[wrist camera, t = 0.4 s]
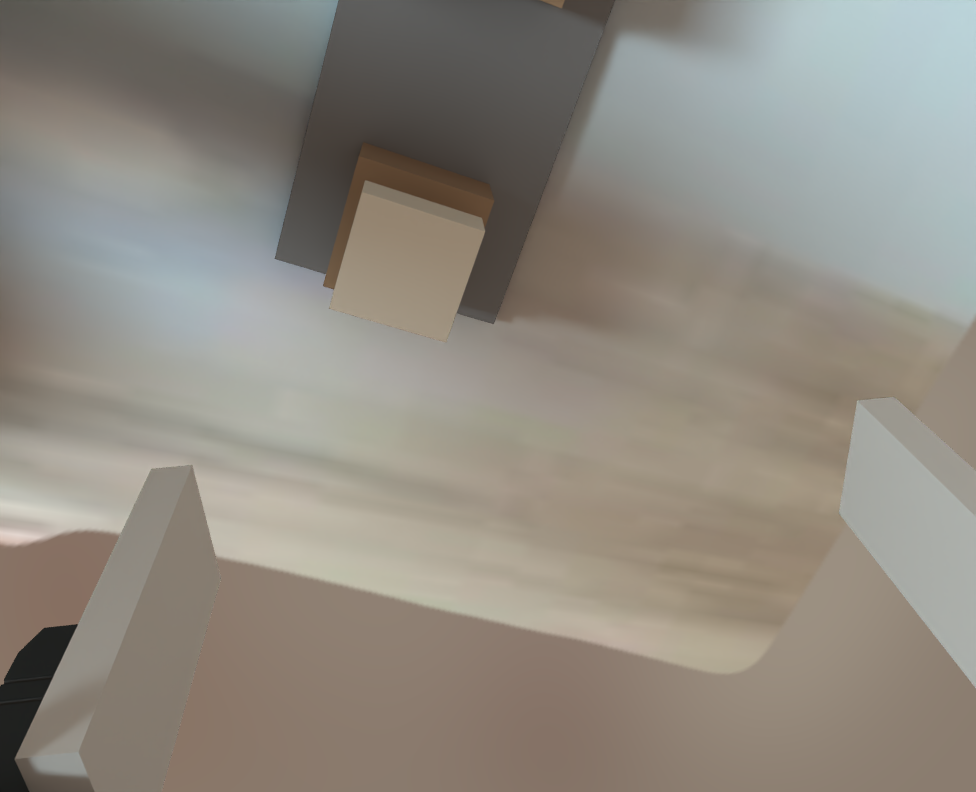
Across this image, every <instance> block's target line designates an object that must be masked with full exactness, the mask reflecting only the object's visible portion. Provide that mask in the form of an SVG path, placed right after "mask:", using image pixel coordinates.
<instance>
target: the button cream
mask: <svg viewBox="0 0 976 792" xmlns="http://www.w3.org/2000/svg"><path fill="white" fill-rule="evenodd" d="M484 234H485V229H484V224H483V220H482V218H481V217H477V216H474V215H471V214H468V213H465V212H462V211H459V210H456V209H453V208H450V207H447V206H444V205H441V204H437V203H434V202H431V201H428V200H425V199H422V198H419V197H416V196H413V195H410V194H407V193H404V192H401V191H397V190H394V189H391V188H388V187H385V186H382V185H379V184H376V183H373V182H370V181H367V180H365V182H364V186H363V189H362V193H361V196H360V200H359V203H358V207H357V211H356V214H355V218H354V221H353V225H352V228H351V232H350V235H349V239H348V242H347V246H346V249H345V253H344V256H343V260H342V264H341V267H340V271H339V274H338V278H337V281H336V285H335V288H334V292H333V296H332V300H331V303H330V307H329V309H332V310H336V311H339V312H343V313H346V314H349V315H353V316H356V317H360V318H363V319H367V320H370V321H374V322H377V323H380V324H384V325H387V326H391V327H394V328H398V329H401V330H405V331H408V332H411V333H415V334H418V335H422V336H425V337H429V338H432V339H436V340H439V341H442V342H447V339H448V336H449V333H450V330H451V327H452V325H453V322H454V319H455V316H456V313H457V310H458V308H459V305H460V302H461V299H462V296H463V293H464V290H465V288H466V285H467V282H468V279H469V276H470V273H471V271H472V268H473V265H474V262H475V259H476V256H477V254H478V251H479V248H480V245H481V242H482V239H483V237H484Z"/></svg>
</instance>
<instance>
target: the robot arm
mask: <svg viewBox="0 0 976 792" xmlns="http://www.w3.org/2000/svg"><path fill="white" fill-rule="evenodd" d="M839 514H840V516H841V517H842V518H843V519H844V521H845V522H846V523H847V524H848V526H849V527H850V528H851V529H852V531H853V532H854V533H855V534H856V536H857V537H858V538H859V540H860V541H861V542H862V543H863V545H864V546H865V547H866V549H867V550H868V551H869V553H870V554H871V555H872V556H873V558H874V559H875V560H876V561H877V563H878V564H879V565H880V567H881V568H882V569H883V570H884V572H885V573H886V574H887V576H888V577H889V578H890V579H891V580H892V582H893V583H894V584H895V586H896V587H897V588H898V590H899V591H900V592H901V593H902V595H903V596H904V597H905V599H907V601H908V602H909V604H910V605H911V606H912V607H913V609H914V610H915V611H916V612H917V614H918V615H919V616H920V618H921V619H922V620H923V621H924V623H925V624H926V625H927V627H928V628H929V629H930V630H931V632H932V633H933V634H934V635H935V637H936V638H937V639H938V641H939V642H940V643H941V644H942V646H943V647H944V648H945V649H946V651H947V652H948V653H949V654H950V656H951V657H952V659H953V660H954V661H955V662H956V664H957V665H958V666H959V667H960V669H961V670H962V671H963V673H964V674H965V675H966V676H967V677H968V679H969V680H970V681H971V683H972V684H973V685H974V687H975V688H976V470H975V469H974V468H973V467H972V466H971V465H969V464H968V463H967V462H966V461H965V460H964V459H963V458H962V457H961V456H959V455H958V454H957V453H956V452H955V451H954V450H953V449H952V448H951V447H949V446H948V445H947V444H946V443H945V442H944V441H943V440H942V439H940V438H939V437H938V436H937V435H936V434H935V433H934V432H933V431H932V430H931V429H929V428H928V427H927V426H926V425H925V424H924V423H923V422H922V421H920V420H919V419H918V418H917V417H916V416H915V415H914V414H913V413H912V412H911V411H909V410H908V409H907V408H906V407H905V406H904V405H903V404H902V403H901V402H899V401H898V400H897V399H896V398H895V397H887V398H877V399H867V400H857V405H856V411H855V417H854V423H853V430H852V436H851V442H850V448H849V454H848V460H847V466H846V472H845V478H844V484H843V491H842V497H841V503H840V509H839ZM220 580H221V575H220V572H219V568H218V564H217V560H216V556H215V552H214V548H213V544H212V540H211V537H210V533H209V529H208V525H207V521H206V517H205V513H204V509H203V505H202V502H201V498H200V494H199V490H198V486H197V482H196V478H195V474H194V471H193V467H192V465H187V466H177V467H166V468H156V469H151V471H150V473H149V475H148V477H147V479H146V481H145V484H144V486H143V488H142V490H141V492H140V494H139V496H138V498H137V501H136V503H135V505H134V507H133V509H132V511H131V513H130V515H129V518H128V520H127V522H126V524H125V526H124V528H123V530H122V532H121V534H120V537H119V539H118V541H117V543H116V545H115V547H114V549H113V551H112V554H111V556H110V558H109V560H108V562H107V564H106V567H105V568H104V571H103V573H102V575H101V577H100V579H99V581H98V583H97V585H96V587H95V590H94V592H93V594H92V596H91V598H90V600H89V602H88V604H87V607H86V609H85V611H84V613H83V615H82V617H81V619H80V621H79V624H76V625H68V626H57V627H49V628H44V629H42V630H41V631H40V632H39V633H38V634H37V635H36V636H35V637H34V638H33V639H32V640H31V641H30V642H29V643H28V644H27V645H26V646H25V647H24V648H23V649H22V650H21V651H20V652H19V653H18V654H17V656H16V658H15V660H14V662H13V664H12V665H11V667H10V669H9V671H8V673H7V675H6V677H5V679H4V684H3V685H1V686H0V792H162V788H163V785H164V781H165V777H166V774H167V770H168V767H169V763H170V759H171V756H172V752H173V748H174V745H175V742H176V738H177V734H178V731H179V727H180V724H181V720H182V717H183V713H184V709H185V706H186V702H187V698H188V695H189V691H190V688H191V684H192V680H193V677H194V674H195V670H196V666H197V663H198V659H199V656H200V652H201V648H202V645H203V641H204V638H205V634H206V630H207V626H208V623H209V620H210V616H211V613H212V609H213V605H214V602H215V598H216V595H217V591H218V588H219V584H220Z"/></svg>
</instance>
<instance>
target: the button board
mask: <svg viewBox="0 0 976 792" xmlns="http://www.w3.org/2000/svg"><path fill="white" fill-rule="evenodd" d="M614 1H615V0H339V1H338V5H337V9H336V13H335V17H334V21H333V25H332V29H331V34H330V38H329V42H328V46H327V50H326V54H325V58H324V62H323V66H322V70H321V74H320V78H319V82H318V86H317V90H316V94H315V98H314V102H313V106H312V110H311V114H310V118H309V122H308V126H307V130H306V134H305V139H304V143H303V147H302V151H301V155H300V159H299V163H298V167H297V171H296V175H295V179H294V183H293V187H292V191H291V195H290V199H289V203H288V207H287V211H286V215H285V219H284V223H283V227H282V231H281V235H280V239H279V244H278V248H277V252H276V256H275V259H277V260H281V261H284V262H287V263H291V264H294V265H297V266H301V267H304V268H307V269H311V270H314V271H317V272H321V273H324V274H326V277H325V280H324V284H323V286H324V287H328V288H331V289H334V288H335V285H336V281H337V278H338V274H339V271H340V267H341V264H342V260H343V256H344V253H345V249H346V246H347V242H348V239H349V235H350V232H351V228H352V225H353V221H354V218H355V214H356V211H357V207H358V203H359V200H360V196H361V193H362V189H363V186H364V182H365V180H367V181H370V182H373V183H376V184H379V185H382V186H385V187H388V188H391V189H394V190H397V191H401V192H404V193H407V194H410V195H413V196H416V197H419V198H422V199H425V200H428V201H431V202H434V203H437V204H441V205H444V206H447V207H450V208H453V209H456V210H459V211H462V212H465V213H468V214H471V215H474V216H477V217H481V218H482V220H483V224H484V229H485V234H484V237H483V239H482V242H481V245H480V248H479V251H478V254H477V256H476V259H475V262H474V265H473V268H472V271H471V273H470V276H469V279H468V282H467V285H466V288H465V290H464V293H463V296H462V299H461V302H460V305H459V308H458V310H457V313H458V314H461V315H465V316H468V317H471V318H475V319H478V320H481V321H485V322H488V323H492V324H494V322H495V319H496V316H497V314H498V311H499V308H500V306H501V303H502V300H503V298H504V295H505V292H506V290H507V287H508V284H509V282H510V279H511V276H512V274H513V271H514V268H515V266H516V263H517V260H518V258H519V255H520V252H521V250H522V247H523V244H524V242H525V239H526V236H527V234H528V231H529V228H530V226H531V223H532V220H533V218H534V215H535V212H536V210H537V207H538V204H539V201H540V199H541V196H542V193H543V191H544V188H545V185H546V183H547V180H548V177H549V175H550V172H551V169H552V167H553V164H554V161H555V159H556V156H557V153H558V151H559V148H560V145H561V143H562V140H563V137H564V135H565V132H566V129H567V127H568V124H569V121H570V119H571V116H572V113H573V111H574V108H575V105H576V103H577V100H578V97H579V95H580V92H581V89H582V87H583V84H584V81H585V79H586V76H587V73H588V70H589V68H590V65H591V62H592V60H593V57H594V54H595V52H596V49H597V46H598V44H599V41H600V38H601V36H602V33H603V30H604V28H605V25H606V22H607V20H608V17H609V14H610V12H611V9H612V6H613V4H614Z"/></svg>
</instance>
